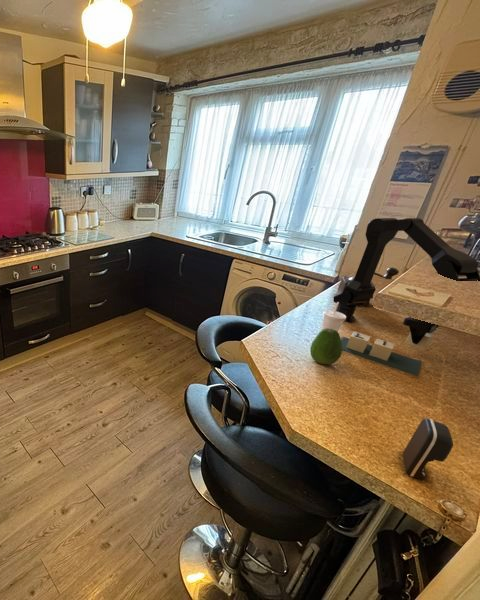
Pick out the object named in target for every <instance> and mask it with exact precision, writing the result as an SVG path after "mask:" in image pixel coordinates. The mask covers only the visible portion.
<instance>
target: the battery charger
mask: <svg viewBox="0 0 480 600" xmlns="http://www.w3.org/2000/svg"><path fill="white" fill-rule="evenodd" d="M408 441H409V442H408V443H407V444H406V446H405V448H404V449H403V451H402V458H403V460H402V461H403V465H404V472H405V474H406V475H408V476H410V477H413V478H416V479H418V480H426V479H427V477H428V476H427V471H426V466H427V464H428V463H430V462H434V461H438V462H441V463H442V462H445V461H446V460H447V458H448V456H449V455H450V453H451V451H452V450H453V447H454V441H453V437H452V434H451V431H450V429H449V427H448V426H447V425H446V424H444V423H442V422H439V421H436V420H433V419H431V418H427V417H425V418H422V420H420V422H419V424H418V426H417V427H416V429H415V431H414V432H413V434H412V435H411V437H410V439H409V440H408Z"/></svg>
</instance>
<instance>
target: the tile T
mask: <svg viewBox="0 0 480 600" xmlns="http://www.w3.org/2000/svg"><path fill="white" fill-rule="evenodd" d="M407 335H408V336H407V337H406V340H405V342H404V344H407V345H409V346H412V347H415V348H416V349H417V348H418V349H421V350H425V349H427V348H428V347H430V346H431V344H432V342H433V340H434V338H435V336H436V333H434V332H432V333H431V332H430V333H428V332H427V333H426V335H425V336H424V337H423V338H422V339H421V340H420V342H419V343H418V344H414V343H412V337H411V332H410V331H409V334H407Z"/></svg>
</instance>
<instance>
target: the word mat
mask: <svg viewBox="0 0 480 600" xmlns="http://www.w3.org/2000/svg"><path fill="white" fill-rule="evenodd" d="M349 339H350V337H346V336H343V337H342V338H341V344H342V352H345V353H348V354H350V355H353V356H357V357H359V358H362V359H365V360H369V361H372V362H374V363H376V364H381V365H383V366H385V367H389V368H392V369H394V370H398V371H399V372H404V373H406V374H409V375H413V376H415V377H418V375H419V372H420V369H421V364H422V361H421V360H418V359H416V358H412V357H409V356H406V355H402V354H399V353H397V352H393V351H392V352H391V354H390V356H389V358H388V360H387V361H386V360H383V359H380V358H377V357H374V356H371V355H369V354H370V351H371V349H372V347H373V345H371V344H369V343H368V344H367V346H366V348H365V350H364V352H363V353H362V352H359V351H356V350H353V349H350V348H347V344H348V342H349Z"/></svg>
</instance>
